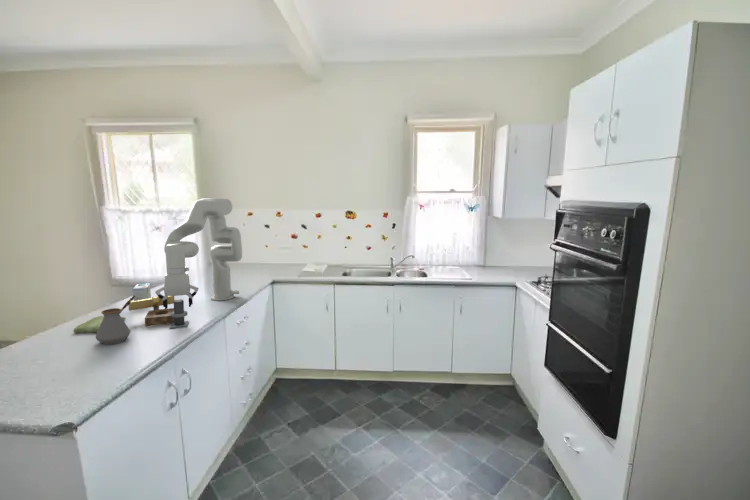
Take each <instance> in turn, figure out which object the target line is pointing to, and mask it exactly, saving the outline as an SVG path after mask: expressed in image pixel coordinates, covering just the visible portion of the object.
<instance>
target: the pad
mask: <svg viewBox="0 0 750 500" xmlns="http://www.w3.org/2000/svg"><path fill="white" fill-rule="evenodd" d="M184 322H185V324H183V325H179V326H177V325H175V322H172V323H171V324H170V326H169V330H173V329H182V328H187V327H188V325H189V320H184Z"/></svg>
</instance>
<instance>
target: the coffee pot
mask: <svg viewBox="0 0 750 500" xmlns="http://www.w3.org/2000/svg"><path fill="white" fill-rule="evenodd" d="M134 297H136V296H133V295H132V296H131V297H130V298H129V300H127V301H126V303H125V304H124V305H123V307H122V308H119V307H118V308H117V307H116V308H115V307H114V308H109V309H104V310H101V314H102V316H104V318H103V320H102V322H101V325H100V327H99V330H98V332H97V333H96V334H95V339H96V340H97V341H98V342H99V343H102V344H103V345H115V344H118V343H122V342H124V341H125V340H126V339H127V338H128V337H129V336H130V334H131V329H130V328H129V326H128V325H127V323H126V322H125V320H123V319H122V317H123V316H121V315H120V314H121V313H122V312H123V311H124V310H125V309H126V308H127V307H129V306H128V305H129V304H130V302H131V301H134V300H133V299H134ZM137 299H138V297H137Z"/></svg>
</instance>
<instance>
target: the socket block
mask: <svg viewBox="0 0 750 500" xmlns="http://www.w3.org/2000/svg"><path fill="white" fill-rule="evenodd" d="M152 308H153V309H150V310H148V311H147V313H146V315H145V317H144V323H145V325H144V326H145V327H154V326H163V325H171V323H172V322H175V320H174V318H173V317H171V313H172V312H174V307H173V308H172V307H170V308H167V309H165V308H162V309H161V308H160V306H158V307H152Z"/></svg>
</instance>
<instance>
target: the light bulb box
mask: <svg viewBox="0 0 750 500" xmlns="http://www.w3.org/2000/svg"><path fill="white" fill-rule="evenodd" d="M151 294H152V293H151V283H150V282H148V283H147V282H146V283H136V284H135V286H134V287H133V288H132V297H133V296H136V297H134V299H133V300H132V301H137V300H144V299H151V298H152V295H151ZM137 297H138V299H137Z"/></svg>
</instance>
